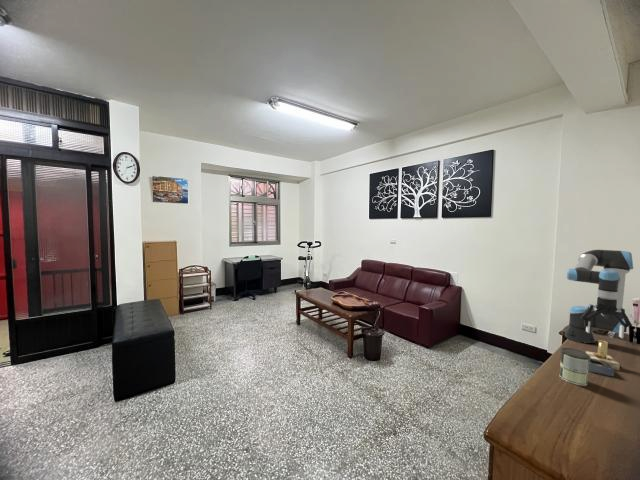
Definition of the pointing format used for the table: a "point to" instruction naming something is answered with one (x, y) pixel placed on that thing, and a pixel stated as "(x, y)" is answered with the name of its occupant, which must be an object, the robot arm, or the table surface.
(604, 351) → the peg
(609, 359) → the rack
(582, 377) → the coffee can
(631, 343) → the table surface
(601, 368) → the socket
